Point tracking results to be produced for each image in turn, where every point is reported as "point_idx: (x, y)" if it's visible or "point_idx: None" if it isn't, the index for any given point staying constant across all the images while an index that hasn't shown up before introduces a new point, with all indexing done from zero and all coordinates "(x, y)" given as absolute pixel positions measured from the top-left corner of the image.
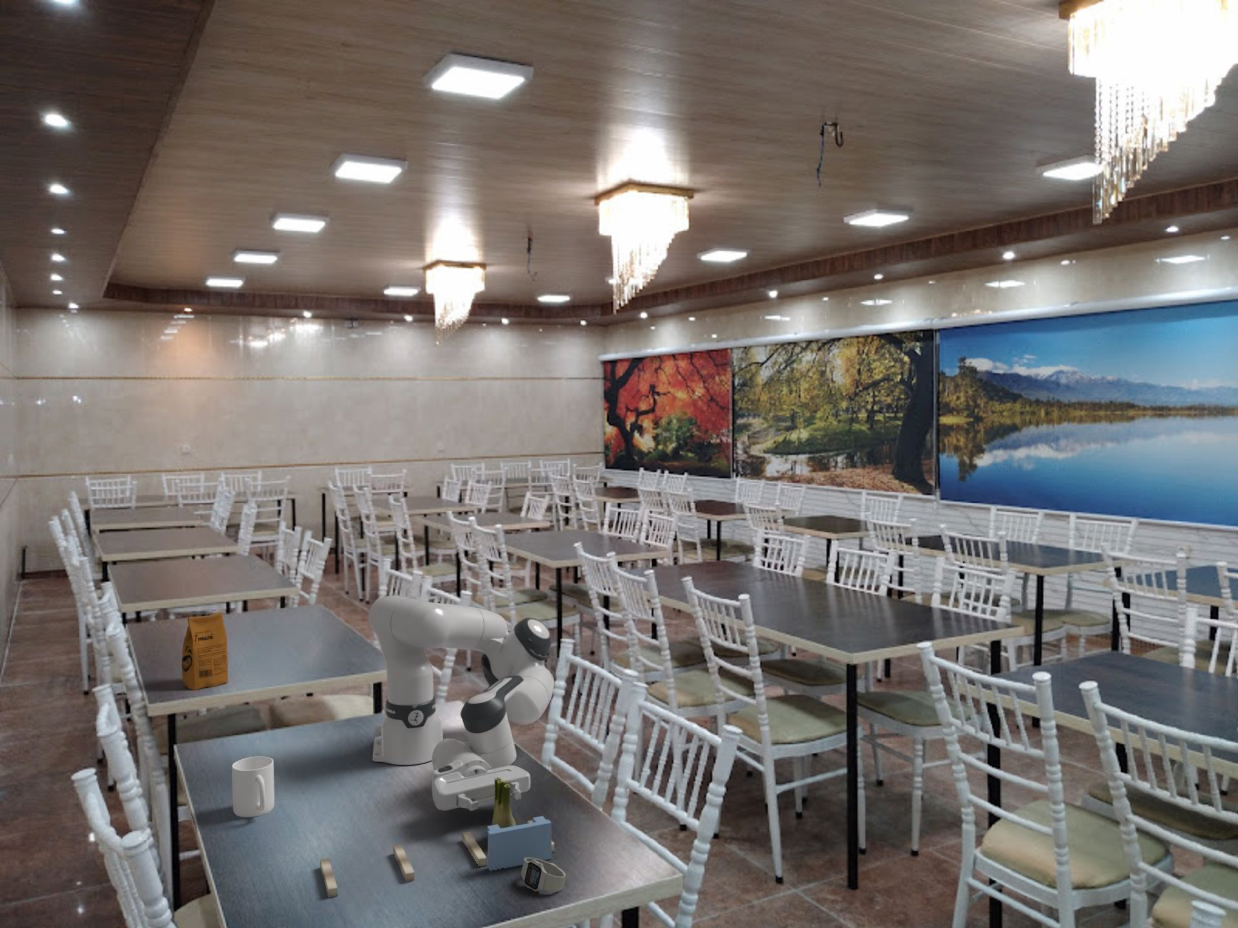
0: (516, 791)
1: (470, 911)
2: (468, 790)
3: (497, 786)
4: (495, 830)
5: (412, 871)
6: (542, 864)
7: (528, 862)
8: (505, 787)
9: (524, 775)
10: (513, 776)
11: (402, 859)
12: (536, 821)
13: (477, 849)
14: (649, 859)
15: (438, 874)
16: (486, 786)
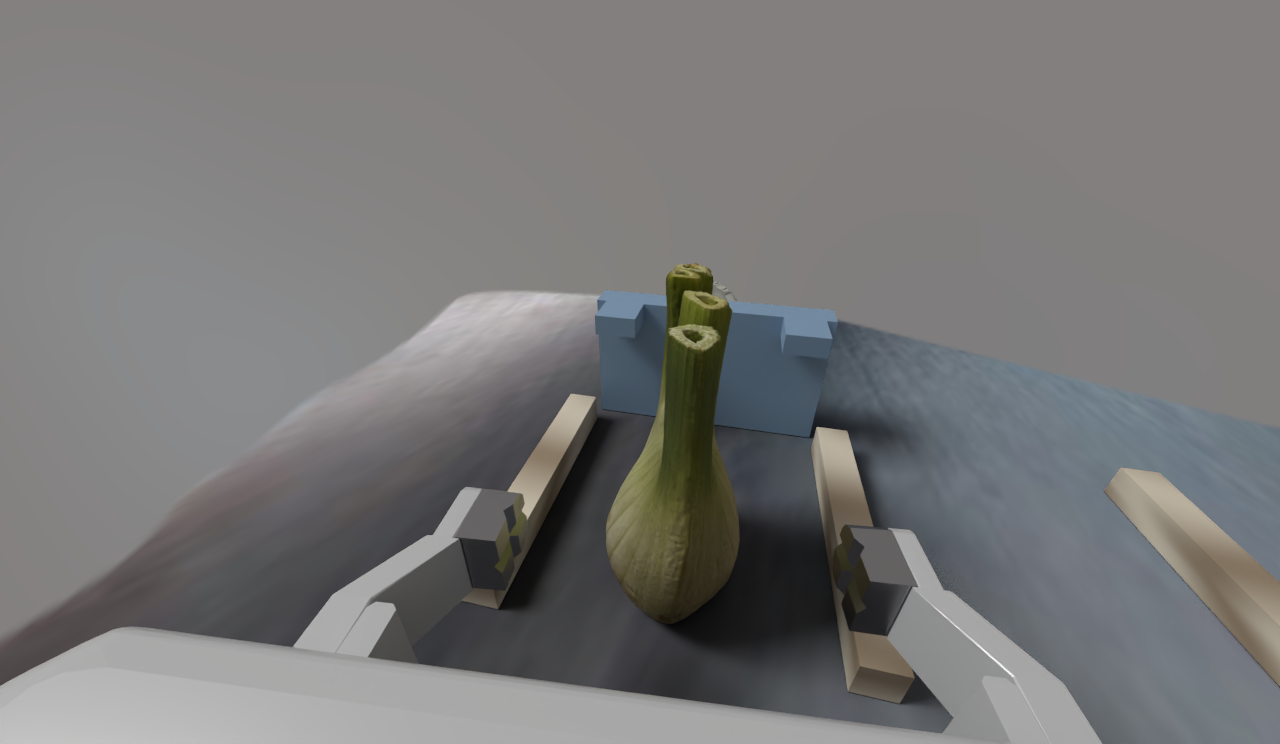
0: (496, 493)
1: (887, 343)
2: (953, 735)
3: (728, 326)
4: (806, 317)
5: (1132, 474)
6: (713, 283)
7: (735, 301)
8: (708, 270)
9: (140, 639)
10: (233, 699)
11: (1263, 583)
12: (640, 306)
13: (841, 482)
14: (445, 320)
15: (1001, 481)
16: (683, 702)
